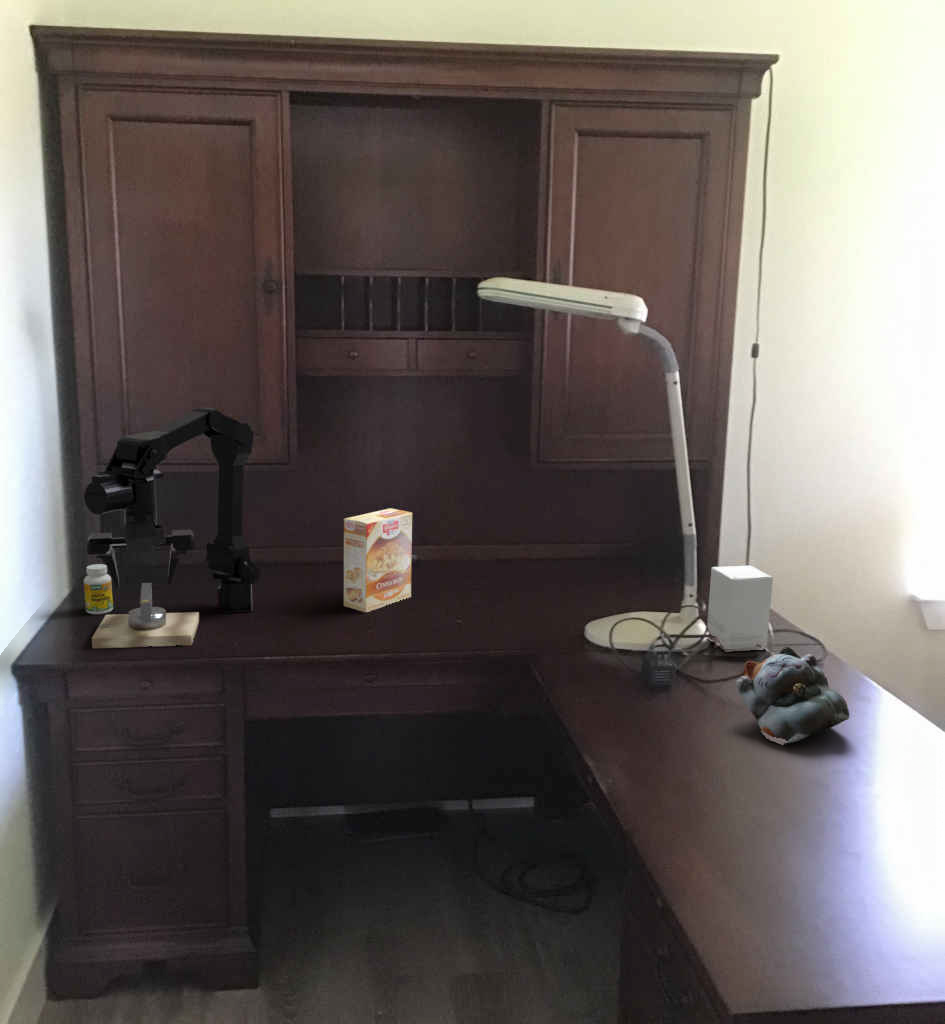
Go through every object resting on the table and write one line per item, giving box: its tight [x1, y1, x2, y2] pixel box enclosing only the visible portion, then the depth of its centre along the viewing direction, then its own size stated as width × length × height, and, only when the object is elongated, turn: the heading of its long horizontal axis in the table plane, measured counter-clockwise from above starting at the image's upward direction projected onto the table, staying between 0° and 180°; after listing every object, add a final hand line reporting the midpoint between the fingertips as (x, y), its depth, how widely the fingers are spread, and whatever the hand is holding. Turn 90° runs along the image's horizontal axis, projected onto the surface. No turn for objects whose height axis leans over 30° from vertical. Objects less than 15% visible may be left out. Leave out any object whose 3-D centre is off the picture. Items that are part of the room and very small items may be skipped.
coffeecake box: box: [343, 507, 413, 613], centre depth 219 cm, size 15×7×20 cm, turn 143°
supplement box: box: [706, 565, 774, 649], centre depth 198 cm, size 9×9×15 cm
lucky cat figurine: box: [735, 646, 850, 744], centre depth 160 cm, size 15×12×14 cm
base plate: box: [91, 611, 200, 649], centre depth 197 cm, size 18×14×2 cm
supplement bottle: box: [83, 563, 114, 615], centre depth 209 cm, size 5×5×10 cm
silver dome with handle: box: [127, 582, 167, 630], centre depth 196 cm, size 13×7×7 cm, turn 16°
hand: (143, 586), depth 190 cm, fingers open, 9 cm apart
